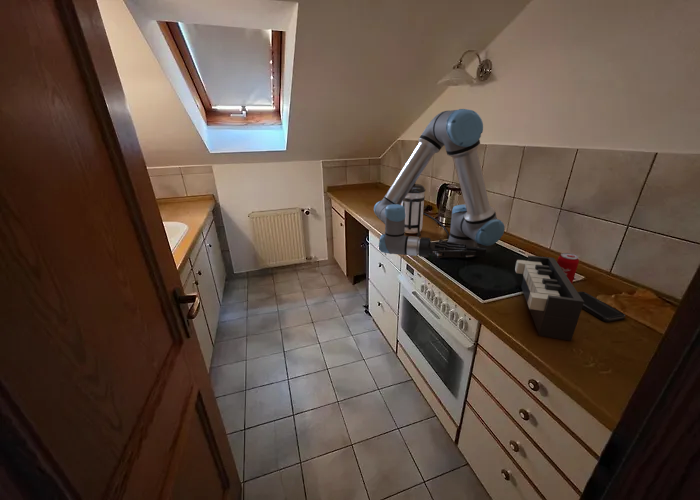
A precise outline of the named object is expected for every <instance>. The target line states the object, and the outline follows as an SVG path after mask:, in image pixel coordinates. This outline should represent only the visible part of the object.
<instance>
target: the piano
mask: <svg viewBox="0 0 700 500" xmlns="http://www.w3.org/2000/svg"><path fill="white" fill-rule="evenodd" d="M526 261H534V262H541V263H542V265H527V264H525V267H524V272H523V274H522V276H523V277H522V281H521V285H520V288H521V290H522V293H523V296H524V299H525V301H526V304H527V307H528V310H529V312H530V315H531V318H532V320H533V324H534V325H535V328H536V331H537V333H538V336H539V337H545V338H550V339H551V338H552V339H557V340H558V339H559V340H564V341H569V342H571V341H572V340H573V337H574V334H575V331H576V327H577V324H578V322H579V318H580V316H581V312H582V310H583V308H582V306H583V303H584V301H583V299H582V298H581V297H580V295H579V294H578V292H579V291H577V289H576V288H575V286H574V285H573V283H571V282H570V280H569V279H568V278H567V276H566V275H565V273H564V272H563V270H562V269H561V267H560V266H559V264H558V263H557V260H556V259H555V257H550V256H538V255H529V254H528V255H527V259H526ZM530 292H533V293H541V294H549V295H548V298H547V302H546V306H545V309H544V311H540V310H533V309H529V306H528V299H529V295H530ZM552 295H557V296H552Z"/></svg>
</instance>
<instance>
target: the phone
mask: <svg viewBox="0 0 700 500" xmlns="http://www.w3.org/2000/svg"><path fill="white" fill-rule="evenodd" d="M577 292H578V294H579V295H580V297H581V298H582V299H583V301H584V303H583V306H582V310H584V311H586V312H588V313H589V314H591V315H593V316H594V317H596V318H598V319H599V320H601V321H603V322H605V323H606V322H607V323H610V322H616V321H621V320H624V319H625V318H626V314H625V313H624V312H622V311H620V310H618V309H616V308H615V307H613V306H611V305H609V304H607V303H605V302H603V301H602V300H600V299H598V298H596V297H595V296H592V295H591V294H589V293H587V292H585V291H577Z"/></svg>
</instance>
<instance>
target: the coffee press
mask: <svg viewBox="0 0 700 500" xmlns="http://www.w3.org/2000/svg"><path fill="white" fill-rule="evenodd" d="M416 182H417V181H416ZM416 182H415V183H414V185H413V186H412V188H411V189H410V191H409V192H408V194H407V195H406V197H405V198H404V200H403V201H402V203H401V204H400V205H403V206H404V207H405V229H404V234H415V235H416V237H422V234H421V231H422V230H423V223H424V220H423V219H424V214H423V212H424V207H425V205H424V204H425V197H426V196H425V193H426V188H425V186H424V185H423V184H422V183H421V184H420V183H416Z"/></svg>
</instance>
